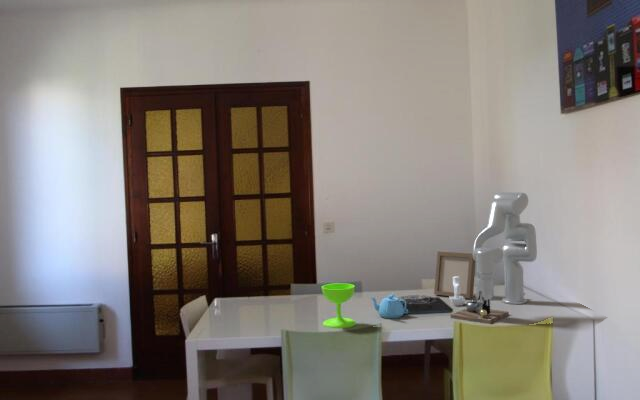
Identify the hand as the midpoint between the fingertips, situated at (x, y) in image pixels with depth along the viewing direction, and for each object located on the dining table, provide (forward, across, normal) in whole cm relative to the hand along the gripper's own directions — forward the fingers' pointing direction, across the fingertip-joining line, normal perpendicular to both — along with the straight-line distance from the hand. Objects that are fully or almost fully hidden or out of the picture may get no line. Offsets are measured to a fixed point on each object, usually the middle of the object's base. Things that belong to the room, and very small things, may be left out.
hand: (486, 313), depth 270 cm
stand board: (+2, -1, -4) cm, 5 cm away
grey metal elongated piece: (0, +1, -4) cm, 4 cm away
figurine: (+3, -18, -25) cm, 31 cm away
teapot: (+2, +22, -41) cm, 47 cm away
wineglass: (+2, +48, -52) cm, 71 cm away
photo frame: (+3, -38, -36) cm, 52 cm away
